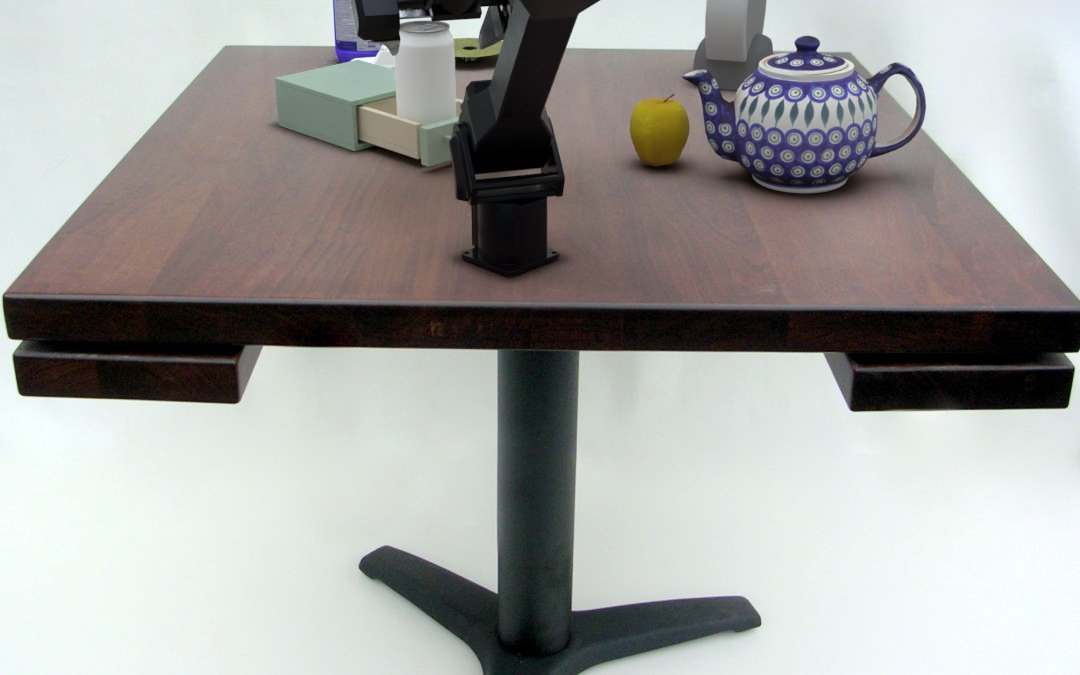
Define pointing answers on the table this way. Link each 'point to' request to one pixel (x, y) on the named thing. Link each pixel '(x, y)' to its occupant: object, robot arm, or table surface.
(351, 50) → the bottle
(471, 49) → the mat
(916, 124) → the teapot
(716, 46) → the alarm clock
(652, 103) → the apple
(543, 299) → the table surface
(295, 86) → the cabinet
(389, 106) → the drawer
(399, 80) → the can
